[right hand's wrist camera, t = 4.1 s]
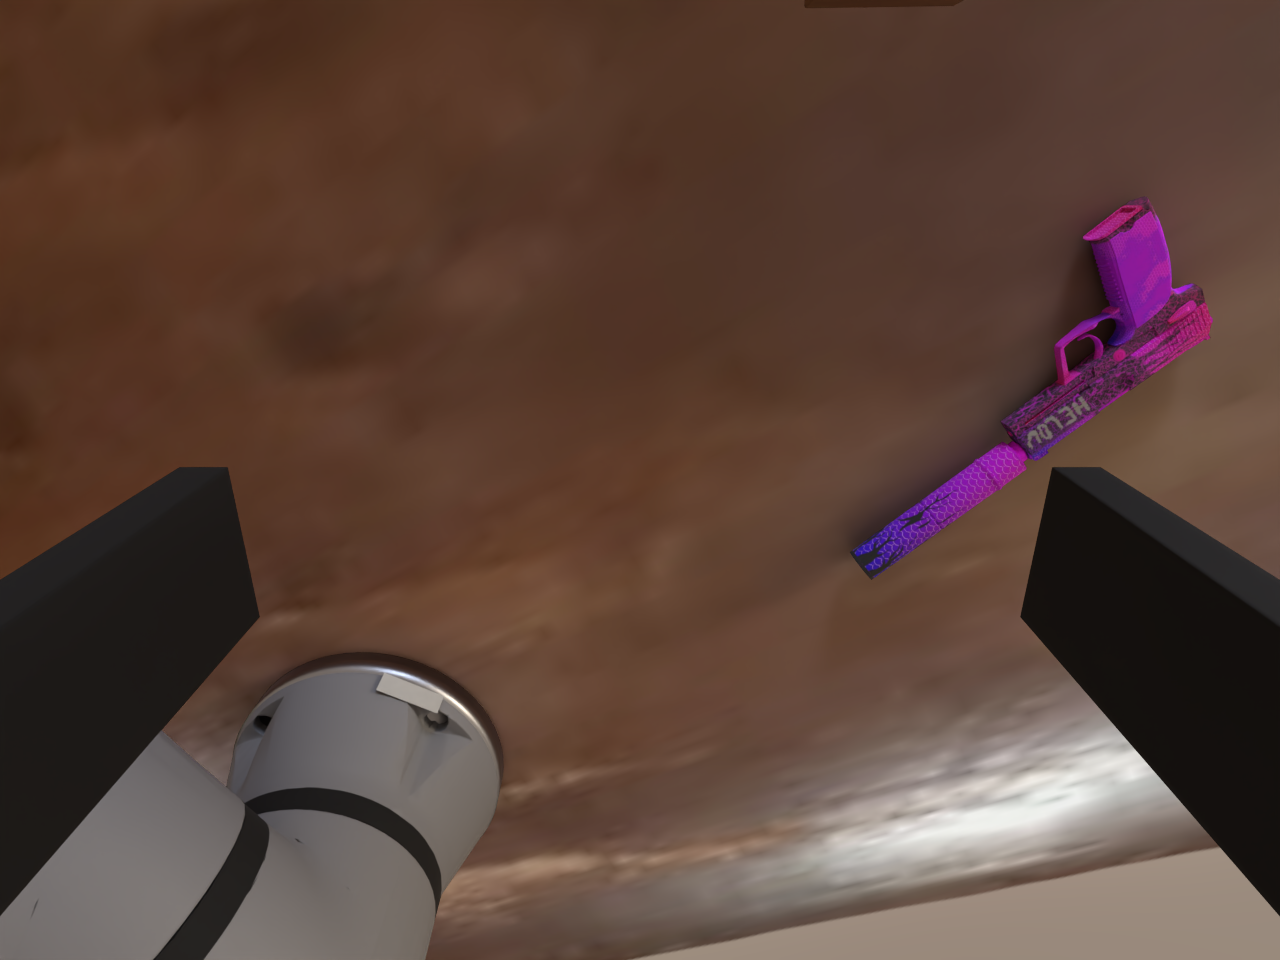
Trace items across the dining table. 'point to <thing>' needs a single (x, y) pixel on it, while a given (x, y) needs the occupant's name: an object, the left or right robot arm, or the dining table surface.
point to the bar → (877, 3)
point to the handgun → (1072, 375)
